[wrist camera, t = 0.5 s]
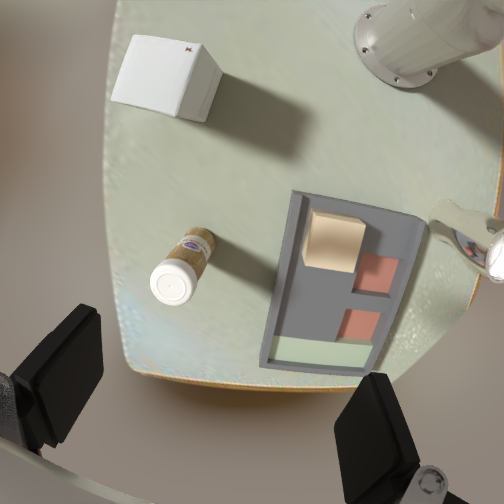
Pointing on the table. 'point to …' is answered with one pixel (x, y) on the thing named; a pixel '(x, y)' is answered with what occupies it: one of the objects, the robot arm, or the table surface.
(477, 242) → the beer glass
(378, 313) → the box
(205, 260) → the sprinkles bottle
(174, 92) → the supplement box
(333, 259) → the maple block
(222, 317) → the table surface
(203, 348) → the table surface
